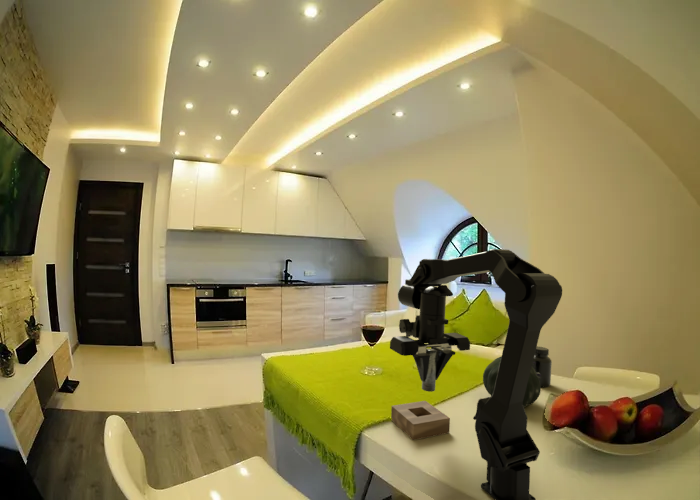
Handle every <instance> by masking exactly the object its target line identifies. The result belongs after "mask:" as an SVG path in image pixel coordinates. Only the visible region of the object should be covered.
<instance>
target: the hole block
mask: <svg viewBox="0 0 700 500" xmlns="http://www.w3.org/2000/svg"><path fill="white" fill-rule="evenodd" d="M390 415H391V417H390V419H391V418H392V420H391V422H393V423H394V424H395V425H396V426H397V427H398V428H399V429H401V430H402V431H403V433H405V434H406V435H407V436H408V437H409V438H410V439H411V440H412V441H415V440H420V439H425V438H429V437H435V436H441V435H445V434H450V427H451V425H450V424H451V423H450V422H451V420H450V419H451V417H449V416H448V415H447V414H445V413H444V412H442V411H441V410H439V408H436V407H435V406H433V405H432V404H431V403H430V402H428V401H426V400H422V401H414V402H409V403H408V402H407V403H402V404H401V403H400V404H396V405H395V404H394V405H391V413H390Z"/></svg>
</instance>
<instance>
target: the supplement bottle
mask: <svg viewBox="0 0 700 500" xmlns="http://www.w3.org/2000/svg"><path fill="white" fill-rule="evenodd" d="M549 350H550V349H549V348H546V347H544V346H543V347H542V346H538V345H537V347H536V351H535V355H534V359H533V363H532V367H533V368H534V370H535V371H536V374H537V376H538V378H539V381H540V387H541V388H549V387H550V386H551V382H552V379H551V378H552V359H551V358H550V357H549V356H550V354H549V352H550V351H549Z"/></svg>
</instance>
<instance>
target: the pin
mask: <svg viewBox="0 0 700 500" xmlns="http://www.w3.org/2000/svg"><path fill="white" fill-rule="evenodd" d="M426 353H427V354H429V355H430V359H429V364H428V370H427V376H426V379H425V382H423V381H421V389H422V390H423V391H425V392H429V393H431V392H435V391H436V381H437V380H436V363H437V350H435V349H431V347H430V348H426Z"/></svg>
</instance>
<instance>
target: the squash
mask: <svg viewBox="0 0 700 500" xmlns="http://www.w3.org/2000/svg"><path fill="white" fill-rule="evenodd" d="M501 357H502V355H500V356H499V357H497V358H494V360H492V361H491V362H490V363H489V364H488V365H487V366H486V367H485V369H484V371H483V374H482V382H483V386H484V388H485V390H486V391H487V392H486V393H488V394H489V395H490V397H491V396H492V394H493V391H494V387H495V383H496V378H497V374H498V370H499V365H500V361H501ZM541 388H542V387H540V381H539V378H538V376H537V374H536V371H535V370H534V368H533V367H531V371H530V375H529V379H528V383H527V387H526V391H525V395H524V399H523V407H524V408H526V407H528V406H530V405H532V404H534V403H535V402H536V401H537V400H538V398H539V396H540V395H541V392H542V391H541Z"/></svg>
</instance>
